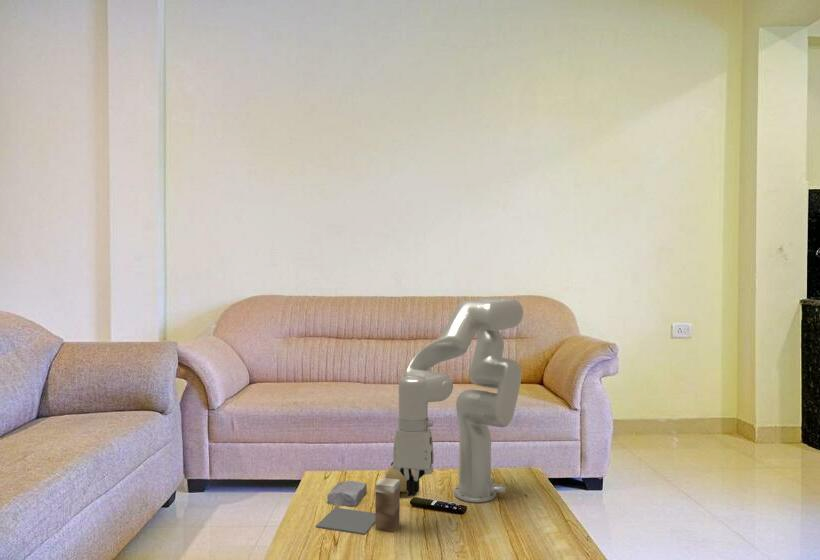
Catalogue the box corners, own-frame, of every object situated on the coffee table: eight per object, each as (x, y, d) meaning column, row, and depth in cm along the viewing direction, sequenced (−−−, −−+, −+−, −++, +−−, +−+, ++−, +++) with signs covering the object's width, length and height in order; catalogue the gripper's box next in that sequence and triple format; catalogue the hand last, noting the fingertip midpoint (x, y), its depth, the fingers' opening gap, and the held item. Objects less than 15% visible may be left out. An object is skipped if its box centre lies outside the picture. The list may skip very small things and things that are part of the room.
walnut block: (399, 524, 153) (399, 479, 152) (393, 532, 148) (393, 486, 148) (382, 521, 154) (382, 477, 154) (375, 529, 149) (375, 484, 149)
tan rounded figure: (419, 484, 181) (419, 450, 180) (416, 499, 169) (416, 463, 168) (388, 482, 182) (388, 449, 181) (383, 498, 170) (383, 462, 169)
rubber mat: (381, 515, 158) (381, 513, 158) (365, 534, 146) (365, 533, 146) (335, 508, 162) (335, 507, 162) (315, 527, 151) (315, 525, 151)
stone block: (325, 511, 165) (358, 507, 163) (322, 494, 165) (355, 490, 163) (339, 496, 177) (369, 492, 175) (336, 481, 177) (366, 477, 175)
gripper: (444, 422, 150) (444, 492, 150) (390, 418, 154) (390, 485, 154) (437, 430, 142) (437, 503, 143) (381, 425, 147) (380, 496, 147)
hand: (412, 494), depth 149 cm, fingers closed
